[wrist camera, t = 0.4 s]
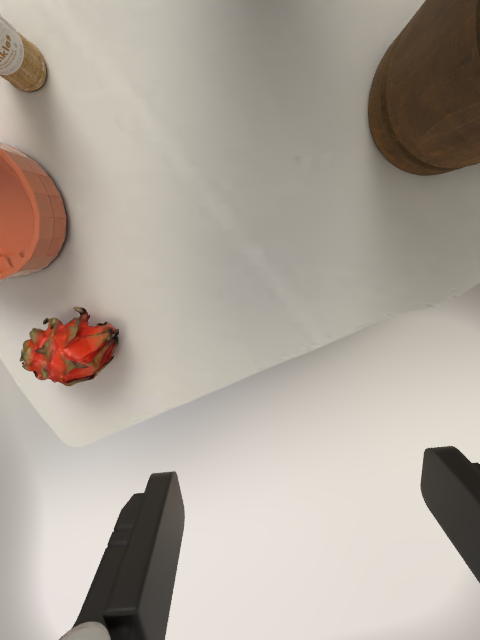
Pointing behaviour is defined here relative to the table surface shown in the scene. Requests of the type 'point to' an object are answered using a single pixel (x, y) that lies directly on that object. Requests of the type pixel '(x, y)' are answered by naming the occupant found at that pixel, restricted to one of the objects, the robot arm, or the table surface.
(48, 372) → the dragon fruit
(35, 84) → the sprinkles bottle
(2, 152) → the bowl
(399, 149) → the wooden container
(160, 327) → the table surface
